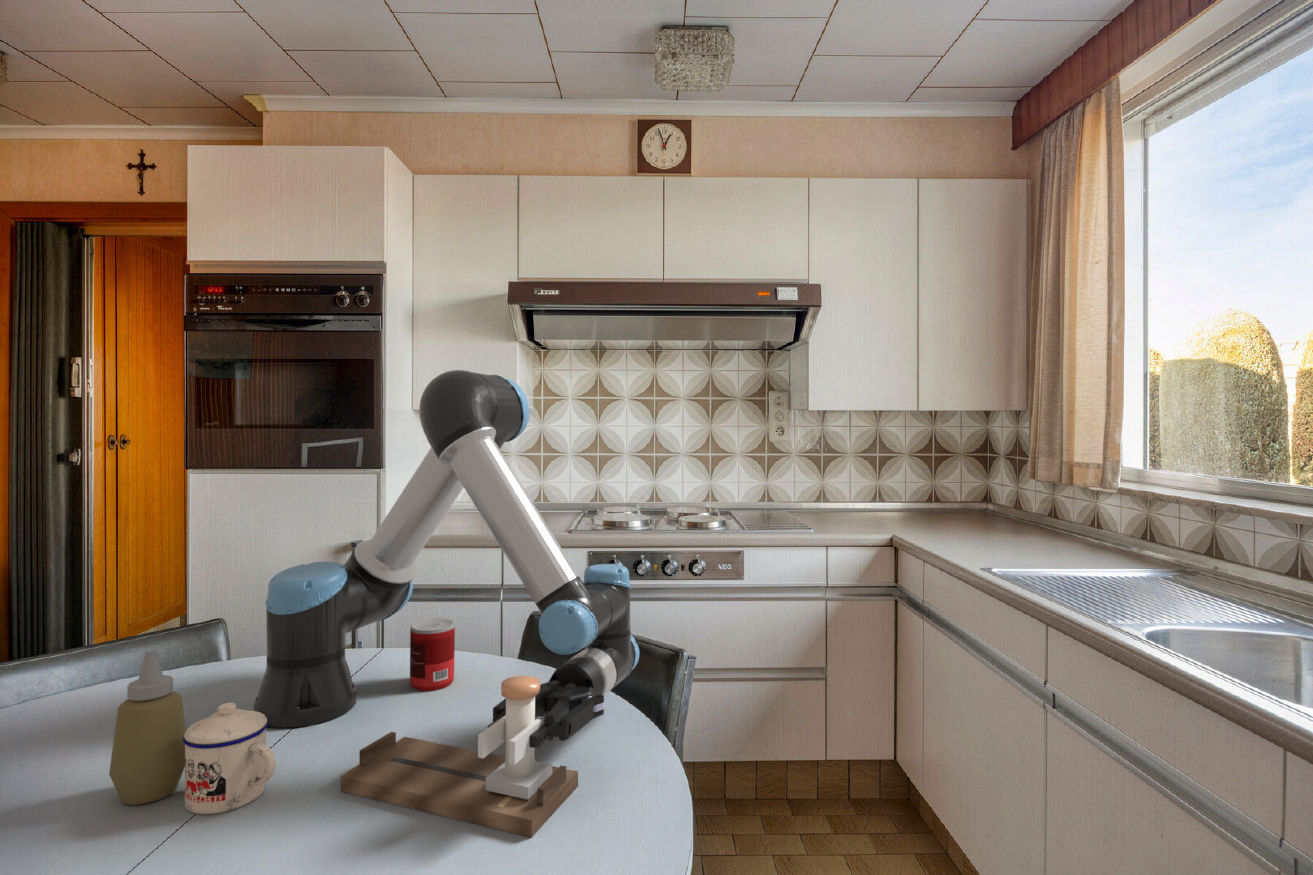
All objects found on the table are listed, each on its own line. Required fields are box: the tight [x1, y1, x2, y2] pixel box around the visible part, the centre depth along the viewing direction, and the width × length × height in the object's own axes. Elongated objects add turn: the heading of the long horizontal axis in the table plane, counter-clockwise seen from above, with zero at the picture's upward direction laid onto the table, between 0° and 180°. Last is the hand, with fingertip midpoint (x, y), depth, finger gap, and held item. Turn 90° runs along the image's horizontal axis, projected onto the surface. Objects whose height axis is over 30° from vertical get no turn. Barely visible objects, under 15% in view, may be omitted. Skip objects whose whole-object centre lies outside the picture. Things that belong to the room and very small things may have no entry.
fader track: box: [340, 731, 579, 838], centre depth 88 cm, size 28×12×4 cm, turn 71°
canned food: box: [409, 618, 456, 692], centre depth 124 cm, size 8×8×11 cm
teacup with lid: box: [183, 702, 277, 815], centre depth 85 cm, size 12×9×12 cm
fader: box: [486, 675, 553, 800], centre depth 85 cm, size 6×6×13 cm
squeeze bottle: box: [108, 650, 187, 806], centre depth 86 cm, size 8×8×18 cm
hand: (496, 749), depth 80 cm, fingers closed on fader, 4 cm apart
